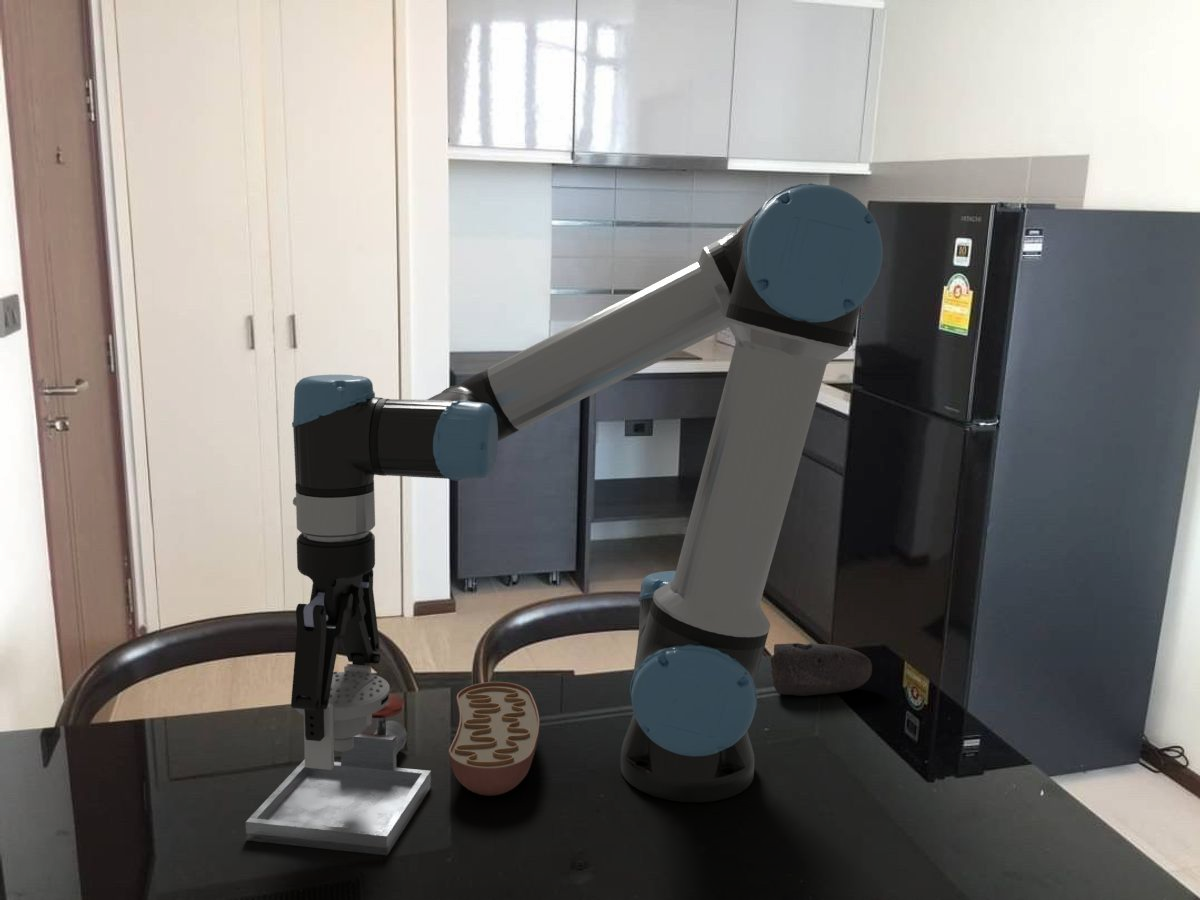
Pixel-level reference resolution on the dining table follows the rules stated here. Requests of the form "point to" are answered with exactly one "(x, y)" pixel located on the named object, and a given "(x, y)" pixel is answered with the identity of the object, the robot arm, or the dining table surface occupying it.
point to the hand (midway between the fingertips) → (339, 744)
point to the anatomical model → (494, 737)
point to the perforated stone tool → (818, 669)
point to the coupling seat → (347, 796)
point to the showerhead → (354, 704)
